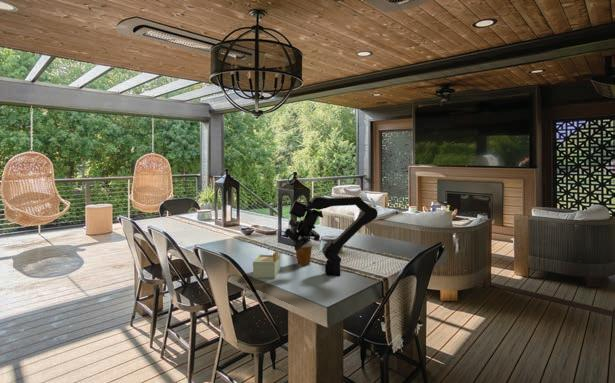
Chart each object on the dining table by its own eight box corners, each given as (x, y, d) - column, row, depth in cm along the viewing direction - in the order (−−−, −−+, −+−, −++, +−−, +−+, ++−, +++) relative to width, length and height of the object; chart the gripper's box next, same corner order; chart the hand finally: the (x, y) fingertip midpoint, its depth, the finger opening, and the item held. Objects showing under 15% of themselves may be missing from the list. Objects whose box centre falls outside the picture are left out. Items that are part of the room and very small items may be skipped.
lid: (279, 258, 179) (279, 250, 179) (274, 264, 170) (274, 255, 170) (261, 258, 180) (261, 249, 180) (256, 263, 171) (255, 254, 171)
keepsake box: (279, 270, 181) (279, 255, 180) (274, 278, 169) (274, 262, 169) (259, 269, 182) (259, 254, 182) (253, 277, 171) (253, 261, 170)
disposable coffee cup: (316, 263, 192) (316, 240, 191) (304, 268, 185) (303, 244, 184) (303, 260, 199) (303, 238, 197) (290, 264, 192) (290, 241, 190)
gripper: (311, 214, 185) (299, 241, 189) (284, 211, 171) (271, 240, 175) (326, 226, 178) (312, 253, 181) (299, 224, 164) (285, 253, 168)
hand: (295, 250), depth 177 cm, fingers closed
